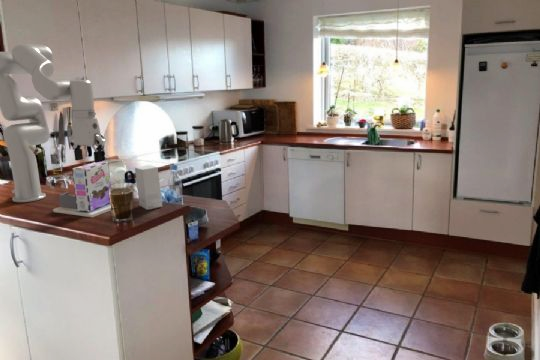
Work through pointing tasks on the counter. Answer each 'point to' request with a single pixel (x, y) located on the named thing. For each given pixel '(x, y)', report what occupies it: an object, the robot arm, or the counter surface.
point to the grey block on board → (70, 207)
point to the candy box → (91, 186)
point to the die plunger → (71, 189)
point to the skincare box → (148, 187)
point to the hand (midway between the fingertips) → (88, 160)
